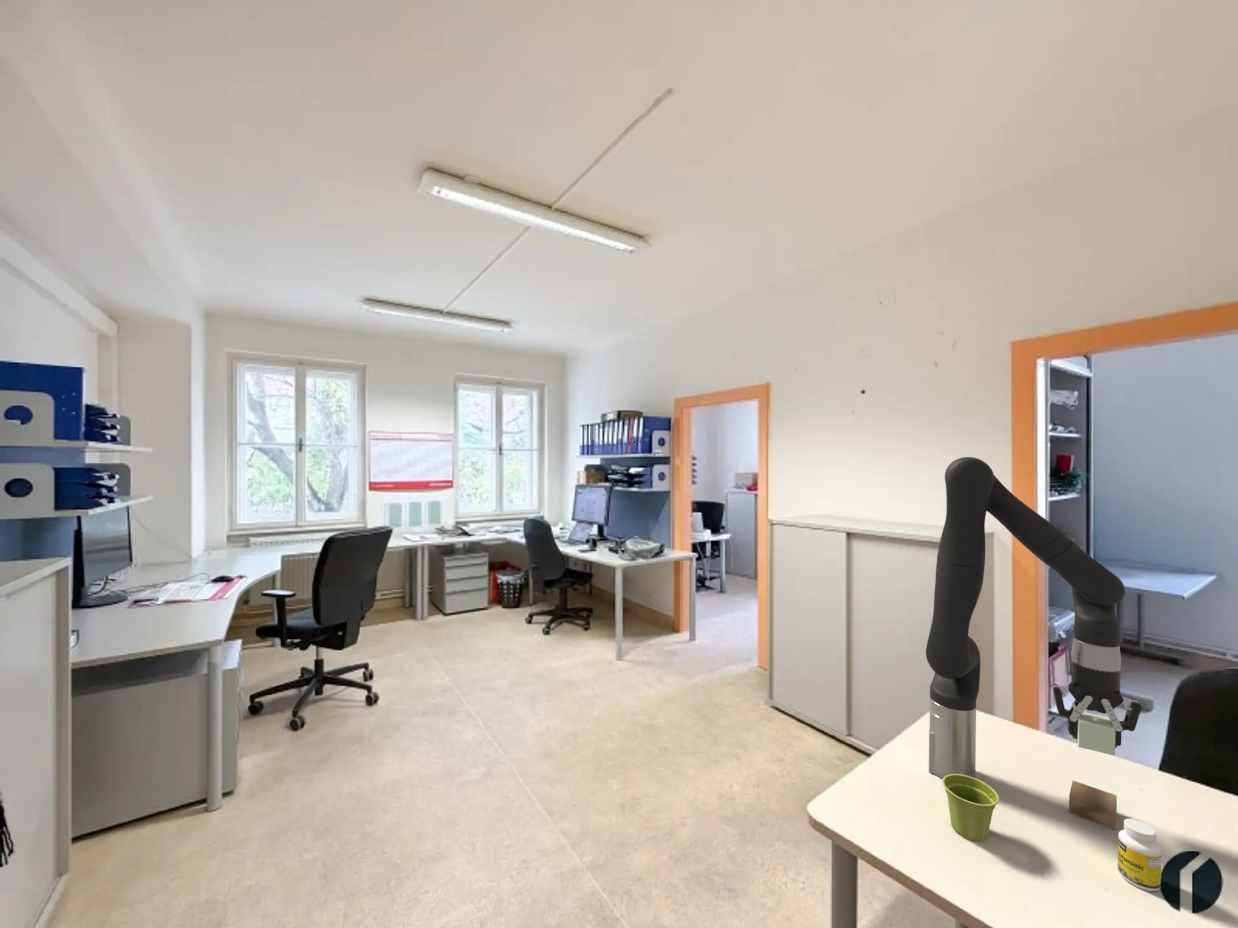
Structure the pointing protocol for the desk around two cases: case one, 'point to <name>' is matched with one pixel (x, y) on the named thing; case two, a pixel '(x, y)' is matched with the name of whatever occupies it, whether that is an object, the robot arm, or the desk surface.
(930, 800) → the desk surface
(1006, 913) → the desk surface
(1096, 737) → the sage cube
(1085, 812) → the walnut block
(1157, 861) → the supplement bottle
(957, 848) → the desk surface
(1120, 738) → the robot arm
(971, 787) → the plant pot
